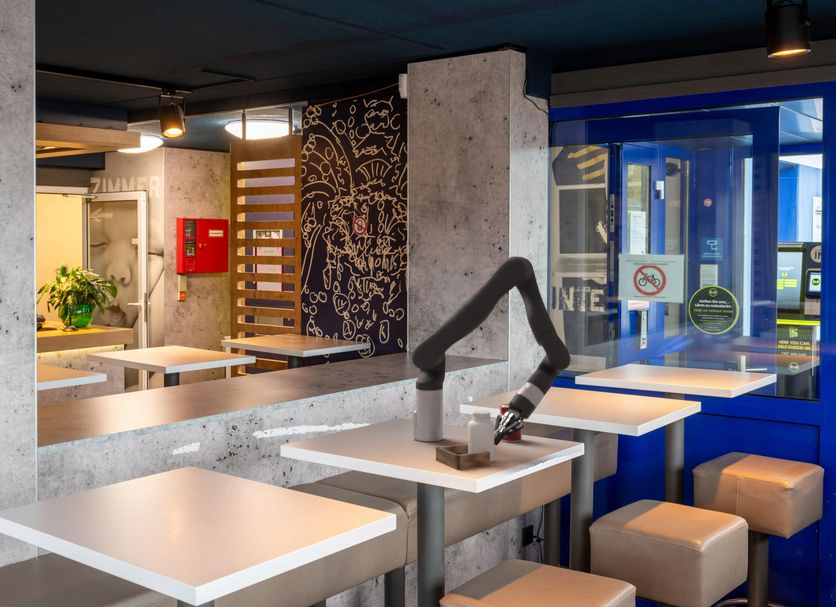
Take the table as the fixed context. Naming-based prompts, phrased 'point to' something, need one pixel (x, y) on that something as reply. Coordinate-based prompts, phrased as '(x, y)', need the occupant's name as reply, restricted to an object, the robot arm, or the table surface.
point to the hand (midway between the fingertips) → (493, 443)
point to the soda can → (516, 436)
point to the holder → (461, 457)
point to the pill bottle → (481, 434)
